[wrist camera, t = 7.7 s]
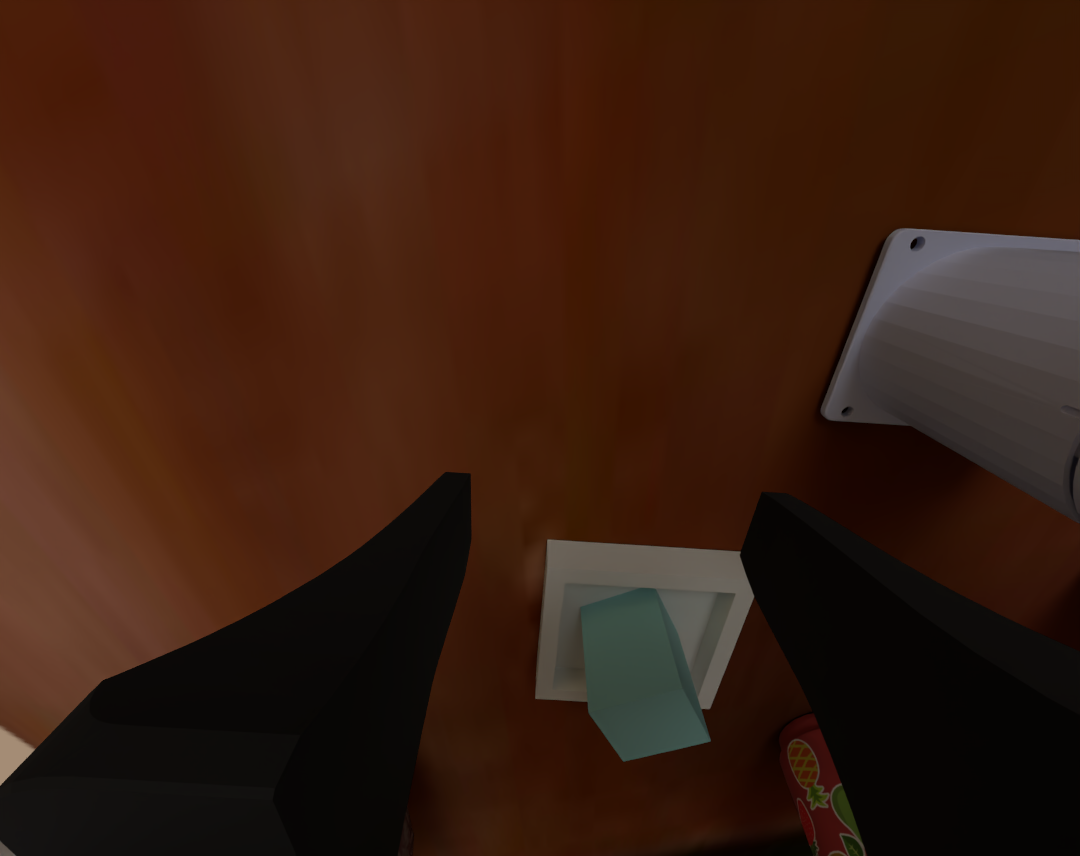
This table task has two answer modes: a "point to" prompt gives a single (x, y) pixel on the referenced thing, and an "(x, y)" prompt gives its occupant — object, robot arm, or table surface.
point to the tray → (611, 569)
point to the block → (639, 676)
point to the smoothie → (818, 790)
